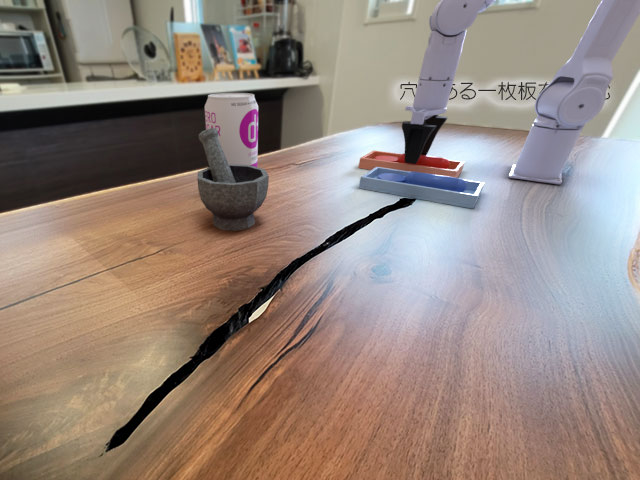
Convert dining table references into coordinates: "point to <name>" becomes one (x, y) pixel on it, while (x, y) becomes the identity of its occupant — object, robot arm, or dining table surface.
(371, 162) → the red tray
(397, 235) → the dining table surface
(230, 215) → the mortar and pestle
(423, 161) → the red spoon
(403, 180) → the blue spoon
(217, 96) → the white soda can
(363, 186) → the blue tray
